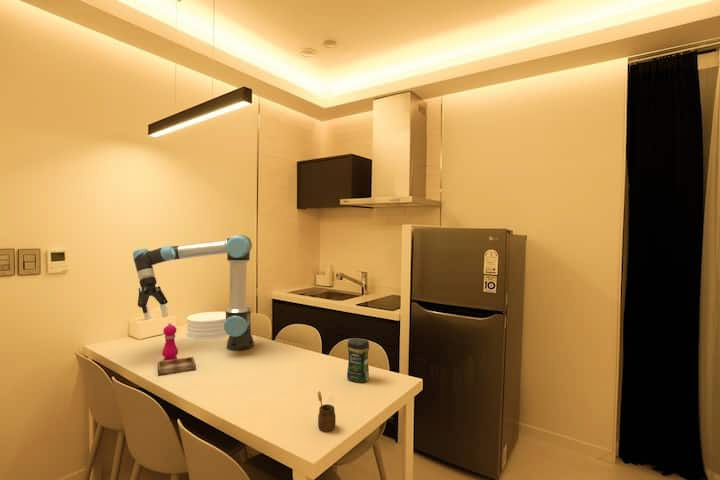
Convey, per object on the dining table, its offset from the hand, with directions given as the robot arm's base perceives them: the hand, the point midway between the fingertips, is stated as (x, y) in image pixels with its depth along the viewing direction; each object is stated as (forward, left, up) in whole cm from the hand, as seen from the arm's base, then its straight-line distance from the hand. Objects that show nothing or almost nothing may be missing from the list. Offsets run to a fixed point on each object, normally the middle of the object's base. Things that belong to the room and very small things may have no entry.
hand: (157, 317), depth 197 cm
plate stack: (-32, -45, -23) cm, 59 cm away
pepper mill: (-6, +2, -23) cm, 24 cm away
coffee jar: (-79, +70, -23) cm, 108 cm away
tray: (-8, +16, -23) cm, 29 cm away
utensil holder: (-49, +102, -23) cm, 115 cm away
